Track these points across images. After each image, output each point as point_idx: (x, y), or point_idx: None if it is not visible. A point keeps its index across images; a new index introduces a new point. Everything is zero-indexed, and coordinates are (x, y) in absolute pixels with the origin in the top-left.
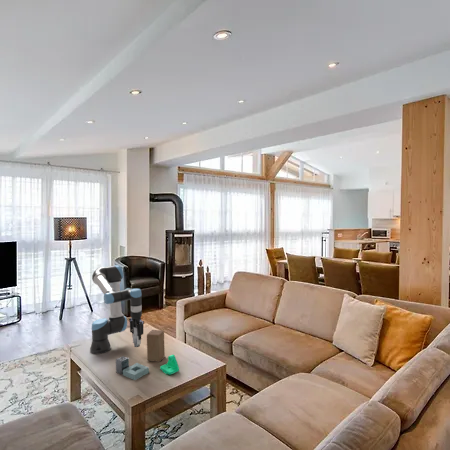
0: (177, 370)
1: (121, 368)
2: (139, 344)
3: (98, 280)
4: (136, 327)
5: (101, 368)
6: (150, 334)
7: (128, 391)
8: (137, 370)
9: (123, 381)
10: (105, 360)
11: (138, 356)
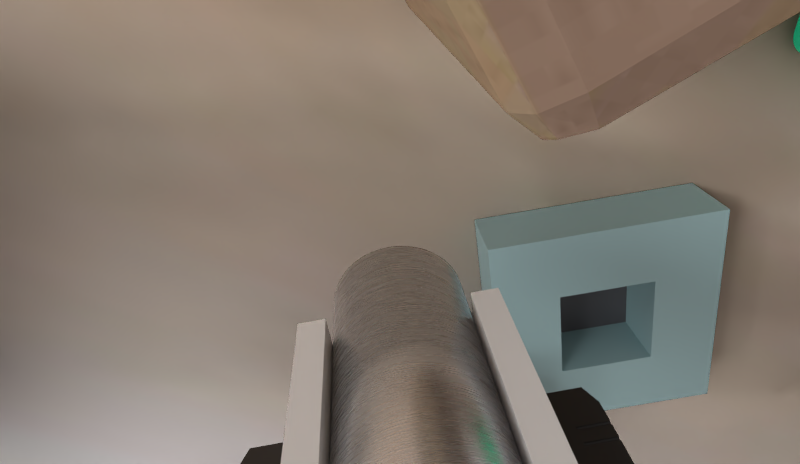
0: None
1: None
2: (463, 296)
3: None
4: None
5: (192, 460)
6: (736, 35)
7: (762, 452)
8: (658, 333)
9: None
10: (8, 378)
11: (162, 23)
